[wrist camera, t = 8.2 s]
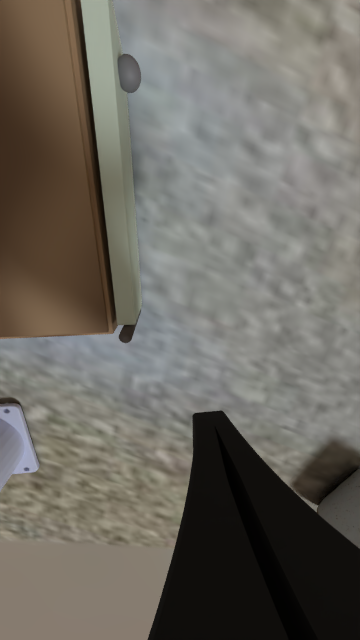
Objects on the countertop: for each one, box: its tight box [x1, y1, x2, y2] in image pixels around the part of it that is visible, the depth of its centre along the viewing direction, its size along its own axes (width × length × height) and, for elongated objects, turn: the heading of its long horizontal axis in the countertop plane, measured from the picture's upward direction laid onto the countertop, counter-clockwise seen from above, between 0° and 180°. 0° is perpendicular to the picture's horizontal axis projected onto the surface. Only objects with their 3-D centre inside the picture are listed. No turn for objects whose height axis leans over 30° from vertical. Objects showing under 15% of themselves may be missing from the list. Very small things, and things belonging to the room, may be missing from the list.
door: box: [81, 0, 142, 325], centre depth 12 cm, size 14×2×5 cm, turn 1°
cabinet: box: [0, 0, 141, 343], centre depth 12 cm, size 10×15×6 cm, turn 1°
